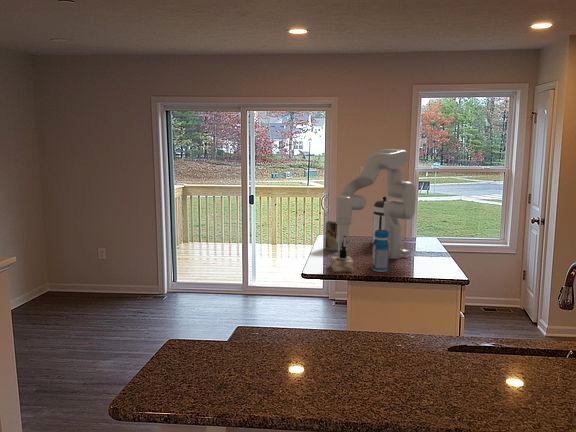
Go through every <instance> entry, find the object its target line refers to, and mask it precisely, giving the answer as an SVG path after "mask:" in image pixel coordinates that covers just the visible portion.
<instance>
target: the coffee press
mask: <svg viewBox="0 0 576 432" xmlns="http://www.w3.org/2000/svg"><path fill="white" fill-rule="evenodd" d="M382 199H383V200H377V201H375V202H374V204H373V207H374V208H373V217H372V218H373V220H372V221H373V223H372V240H371V241H370V244H371V245H373V242H374V240H375V239H376V237H375V231H376V230H384V223H385V221H384V211H383V207H384V204H385V203H386V202H387V201H388V200H387V196H383V197H382Z"/></svg>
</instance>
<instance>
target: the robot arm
mask: <svg viewBox="0 0 576 432" xmlns="http://www.w3.org/2000/svg"><path fill="white" fill-rule="evenodd" d="M409 161H410V154H409V152H408V151H407V150H405V149H392V148H385V149H381V150H380V151H379V152H374V153H373V152H372V154H370V155H369V156H368V159H367V161H366V162H365V164H364V165H363V168H362V170H361V171H360V173H359V175H358V176H356V177H354V178H353V179H352V180H351V181H350V182H348V183H347V184H346V185H345V187H344V188H343V190H342V192H341V193H340V195H339V196H338V197H337V198H336V209H335V211H336V212H335V215H336V216H335V222H336V224H337V236H336V241H337V243H338V244H341V250H340V258H346V254H347V255H348V245H349V239H350V225H352V211H361V210H363V209H365V208H366V206H367V200H366V198H365V197H364V196H362V195H358V194H355V193H356V192H358V191H359V190H361V189H363V188H364V189H365V188H367V187H370V186H372V185H374V184H375V183H376V180H377V178H378V176H379V175H380V173H381V171H382V170H385V171H386V193H387V196H388V197H390V198H394V199H390V200H389V199H388V200H386V201H387V202H386V203H385V204H384V207H383V211H384V221H385V223H384V230H387V231H389V237H388V238H387V239H388V241H389V244H390V246H389V249H390V251H389V260H400V259H402V258H403V257H404V255H405V254H407V255H409V254H410V250H408V249H407V250H406V249H402V248H401V247H402V231H403V225H402V220H406V221H407V220H408V221H409V220H411V219H413V218H414V216H415V213H416V201H417V199H416V196H417V190H416V186H415V184H414V183H412V181H411V182H410V181H406V180H405V181H404V170H403V167H405V166H406V165H407V164H408V163H409ZM396 199H399V200H396ZM342 243H343V244H342ZM347 244H348V245H347ZM342 245H343V246H342Z"/></svg>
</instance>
